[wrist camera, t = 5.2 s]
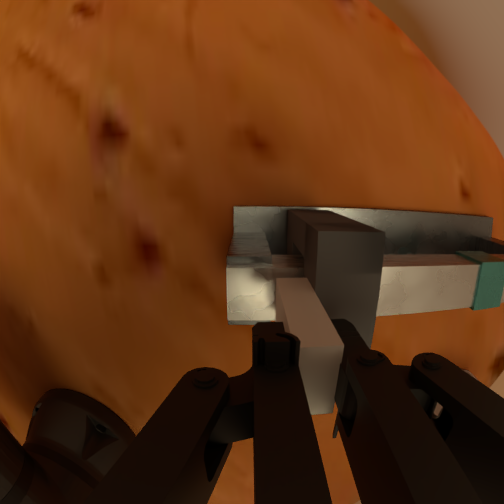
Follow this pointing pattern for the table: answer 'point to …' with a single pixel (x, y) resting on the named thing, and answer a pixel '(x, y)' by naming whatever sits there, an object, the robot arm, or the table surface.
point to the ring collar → (340, 264)
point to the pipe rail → (394, 222)
